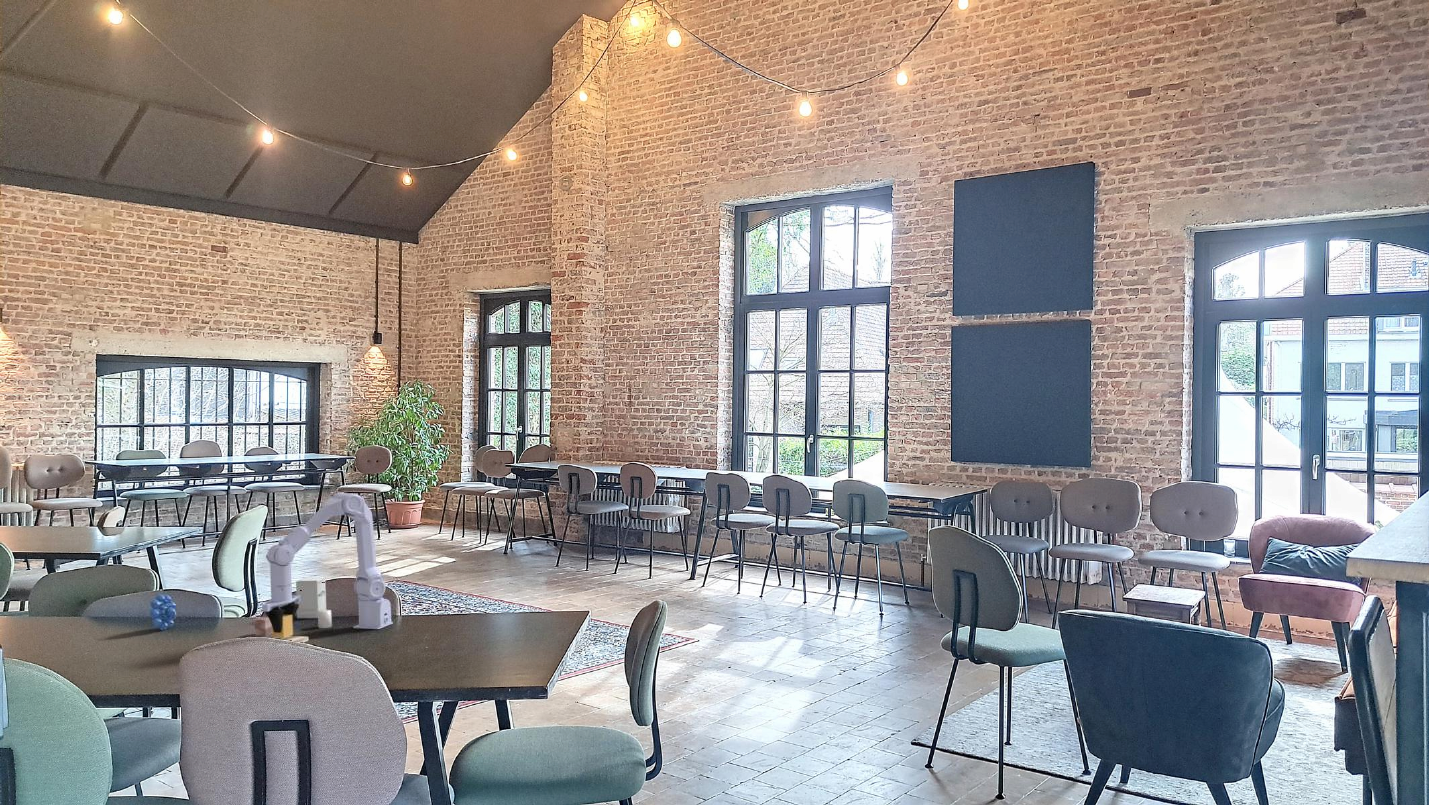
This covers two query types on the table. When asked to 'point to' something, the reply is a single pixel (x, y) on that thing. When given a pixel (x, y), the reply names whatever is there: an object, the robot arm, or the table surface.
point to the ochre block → (285, 627)
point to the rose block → (263, 626)
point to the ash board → (296, 638)
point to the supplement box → (311, 596)
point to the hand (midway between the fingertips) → (282, 630)
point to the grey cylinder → (324, 619)
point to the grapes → (163, 611)
